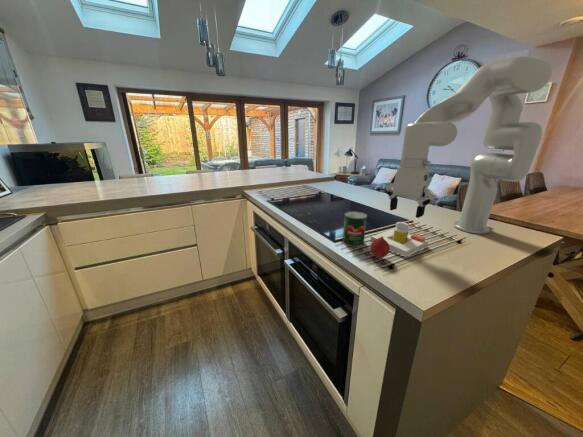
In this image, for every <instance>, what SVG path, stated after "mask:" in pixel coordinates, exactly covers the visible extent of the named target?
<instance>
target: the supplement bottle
mask: <svg viewBox="0 0 583 437" xmlns="http://www.w3.org/2000/svg"><path fill="white" fill-rule="evenodd" d="M393 229H394V233H393V239H392V240H393V241H396V242H398V243H400V244H404V243H406V241H407V236H408V234H409V224H408V223H407V222H404V221H397V222H396V223H395V227H394V228H393Z"/></svg>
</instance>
